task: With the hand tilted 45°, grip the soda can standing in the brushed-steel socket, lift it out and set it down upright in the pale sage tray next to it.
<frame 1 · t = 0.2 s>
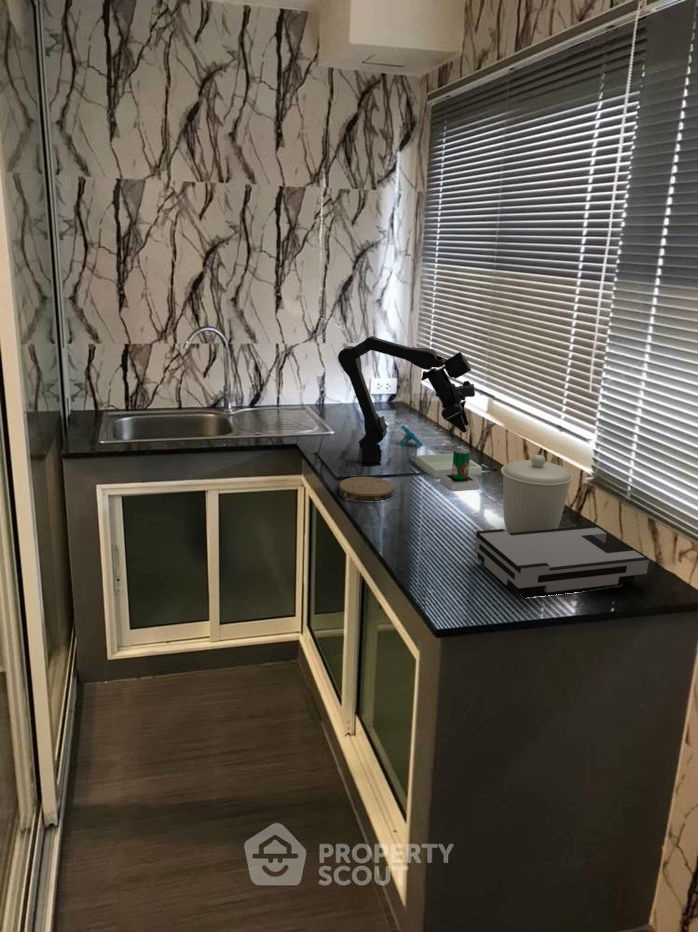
hand: (466, 428, 242), 15 cm above the worktop, tool tilted 35°, fingers open, 9 cm apart
brown flat piece: (366, 495, 224), on the worktop
game console: (556, 576, 176), on the worktop
sage tray: (447, 470, 249), on the worktop
steel socket: (459, 485, 234), on the worktop
gear: (410, 446, 276), on the worktop
soda can: (459, 486, 235), resting in steel socket
canister: (530, 533, 200), on the worktop
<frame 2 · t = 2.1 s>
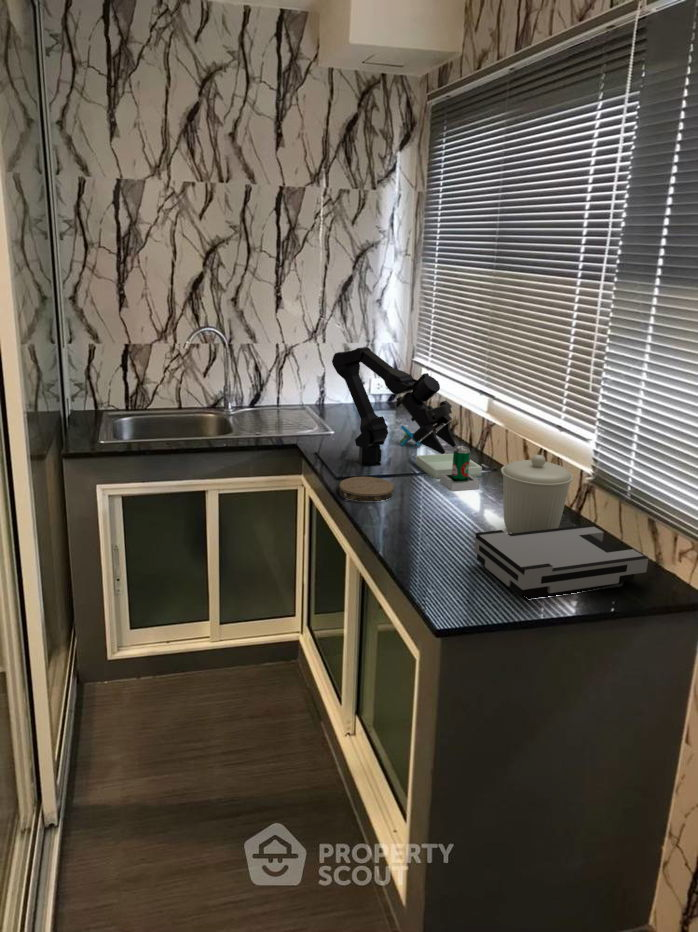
hand: (449, 449, 233), 11 cm above the worktop, tool tilted 45°, fingers open, 9 cm apart
nothing on the worktop moved.
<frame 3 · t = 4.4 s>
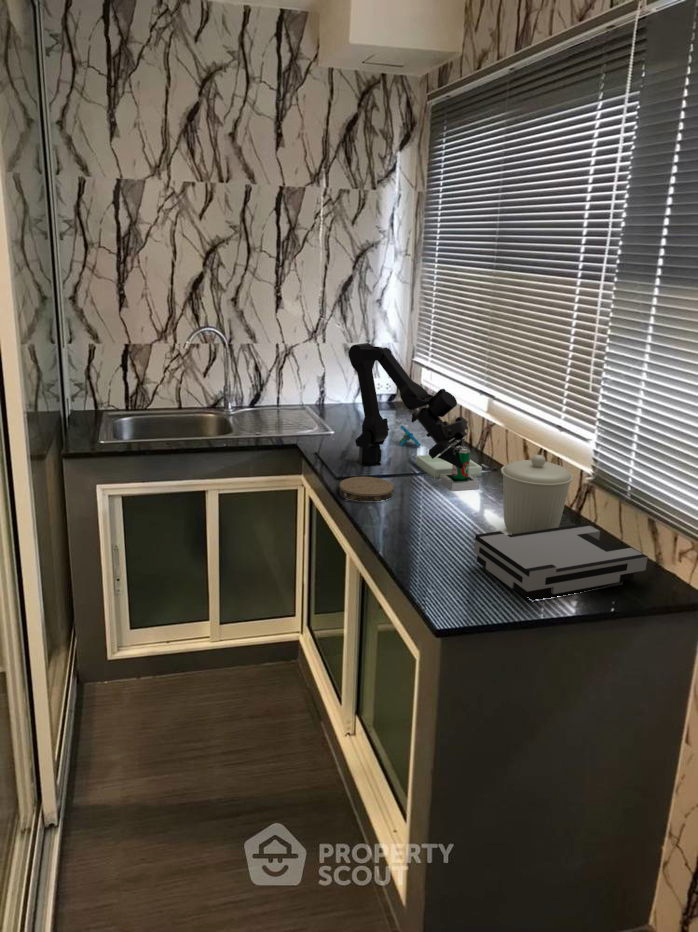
hand: (465, 465, 232), 7 cm above the worktop, tool tilted 45°, fingers closed on soda can, 5 cm apart
soda can: (459, 486, 235), resting in steel socket, touching gripper
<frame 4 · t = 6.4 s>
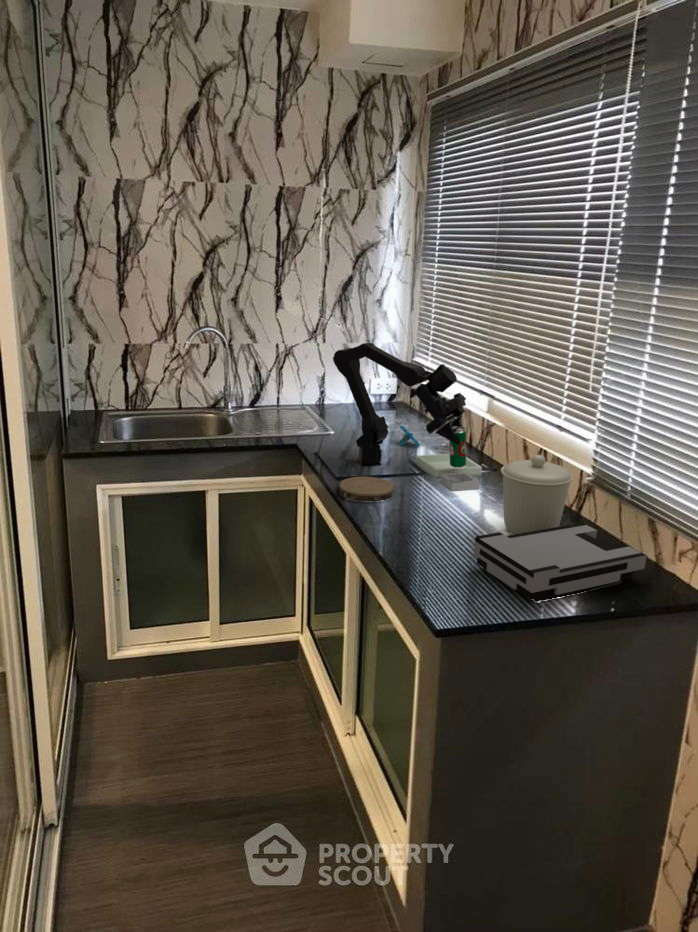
hand: (462, 441, 234), 13 cm above the worktop, tool tilted 45°, fingers closed on soda can, 5 cm apart
soda can: (457, 466, 237), point 5 cm above the worktop, touching gripper
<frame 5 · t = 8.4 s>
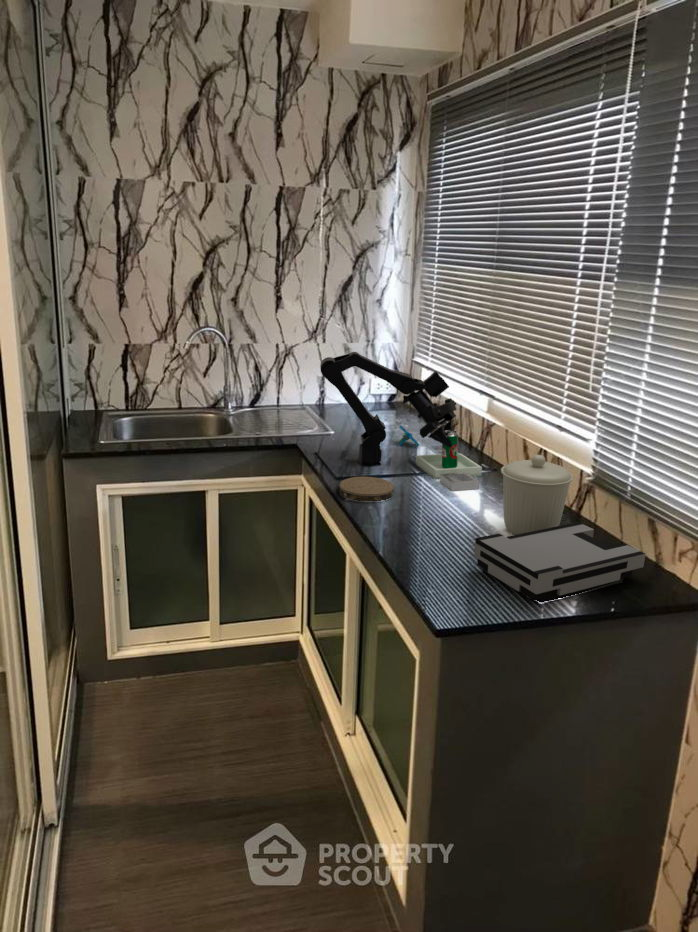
hand: (454, 444, 246), 9 cm above the worktop, tool tilted 45°, fingers closed on soda can, 5 cm apart
soda can: (449, 467, 249), point 1 cm above the worktop, touching gripper, sage tray
when the fingers open (9 cm above the worktop, at t = 9.1 s): soda can stays where it is, resting on sage tray.
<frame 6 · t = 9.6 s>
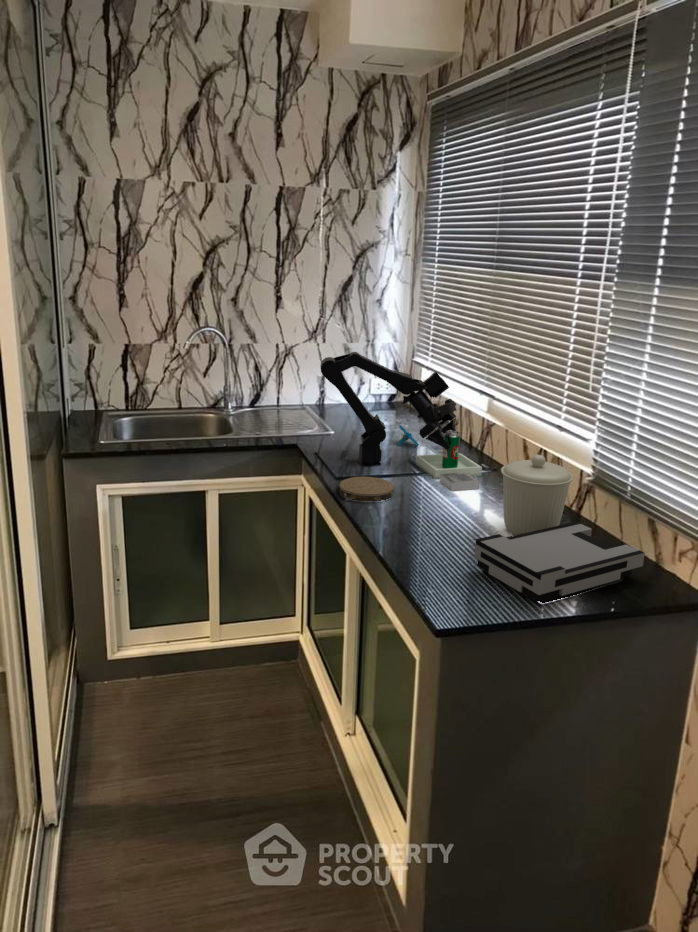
hand: (454, 445, 246), 9 cm above the worktop, tool tilted 45°, fingers open, 9 cm apart
soda can: (449, 468, 249), point 1 cm above the worktop, touching sage tray
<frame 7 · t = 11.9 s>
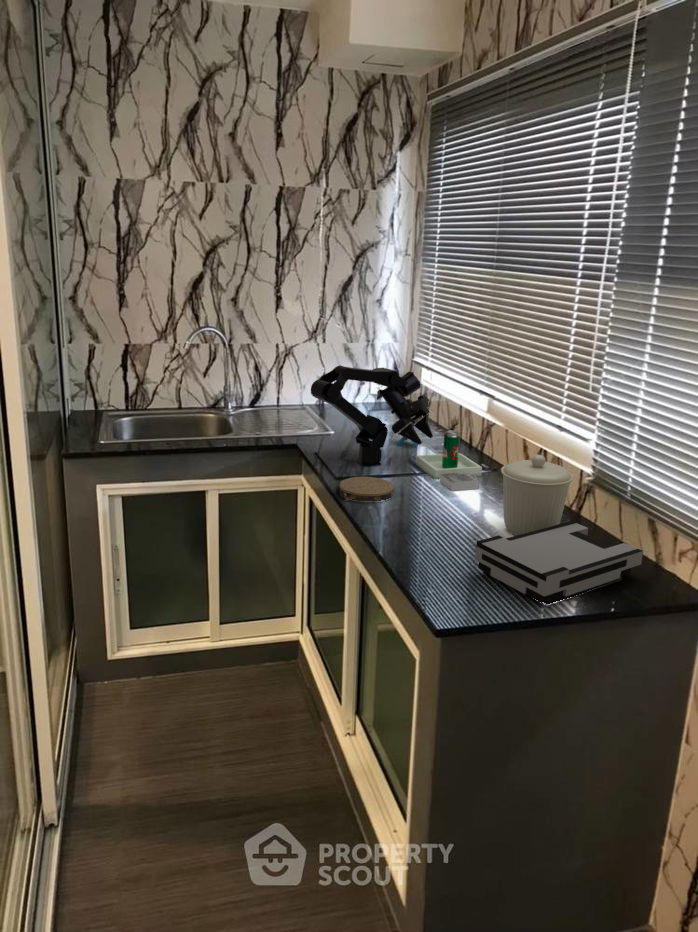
hand: (426, 440, 250), 9 cm above the worktop, tool tilted 45°, fingers open, 9 cm apart
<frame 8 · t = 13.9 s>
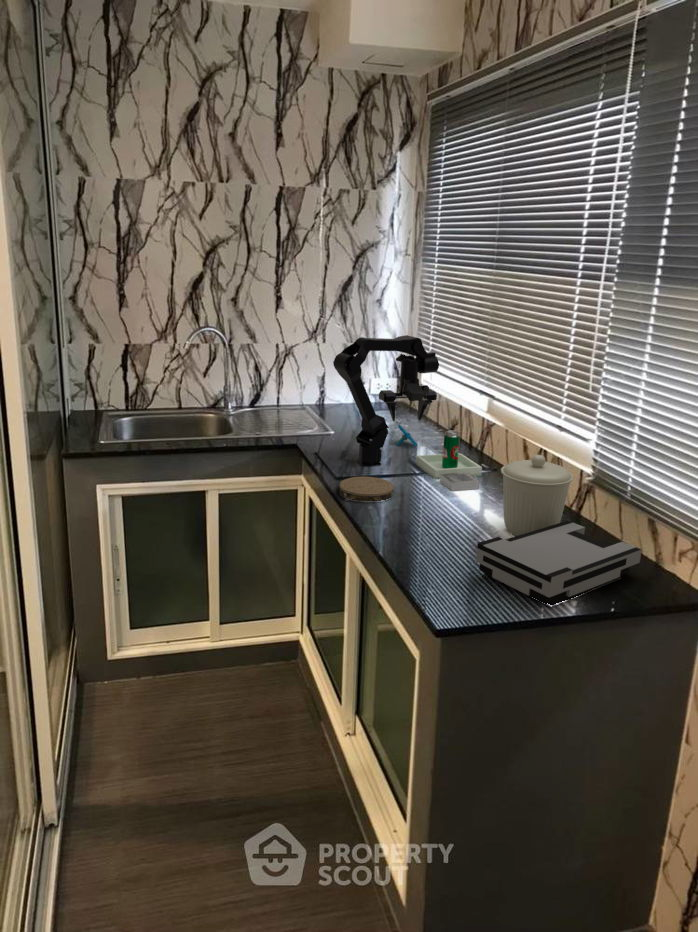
hand: (406, 420, 257), 13 cm above the worktop, tool pointing down, fingers open, 9 cm apart
at the end: soda can inside the target area on the sage tray (0.5 cm from its centre), point 0.6 cm above the sage tray's base; soda can tilted 0°; the gripper is holding nothing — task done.
